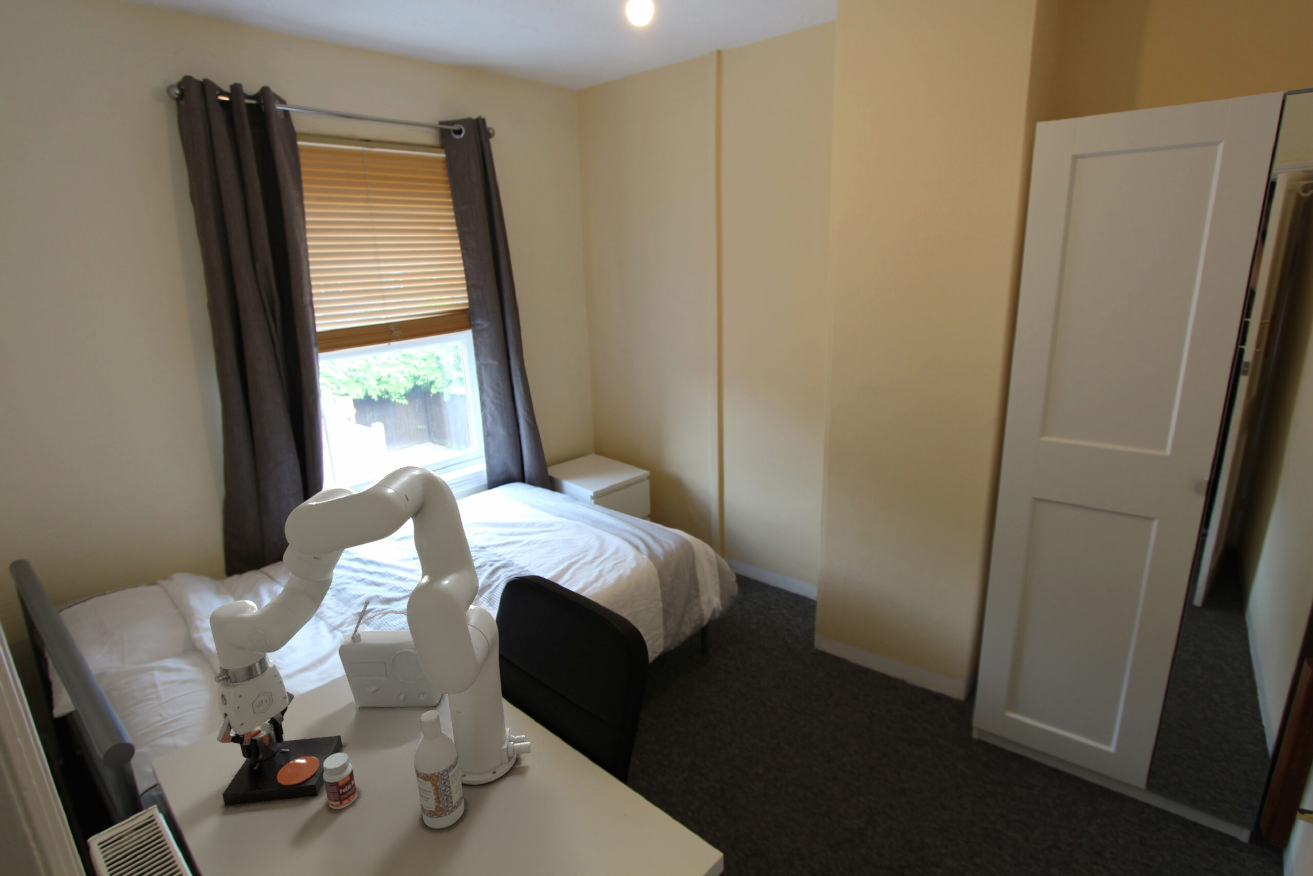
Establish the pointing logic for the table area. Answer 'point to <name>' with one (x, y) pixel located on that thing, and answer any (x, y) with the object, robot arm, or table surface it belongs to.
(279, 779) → the burner ring
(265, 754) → the hob knob
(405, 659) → the radio
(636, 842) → the table surface
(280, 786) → the hob
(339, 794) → the pill bottle
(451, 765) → the bath foam
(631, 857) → the table surface
